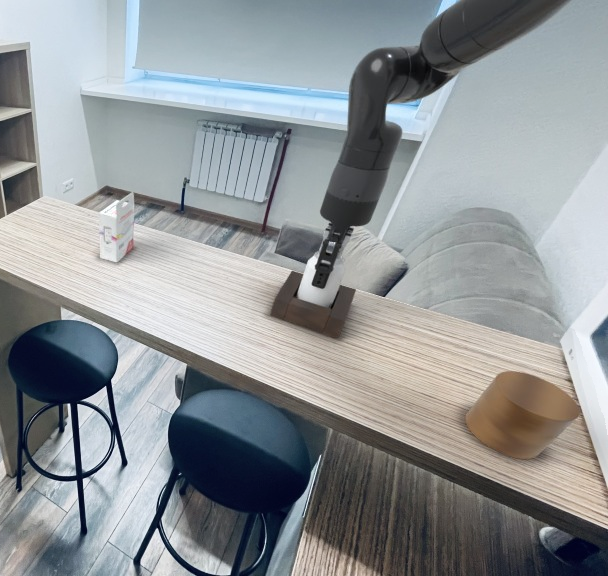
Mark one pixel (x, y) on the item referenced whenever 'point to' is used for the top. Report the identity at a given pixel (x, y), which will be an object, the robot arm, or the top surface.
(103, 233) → the ink cartridge box
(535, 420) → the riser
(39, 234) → the top surface
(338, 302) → the can stand
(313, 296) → the beverage can
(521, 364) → the top surface
